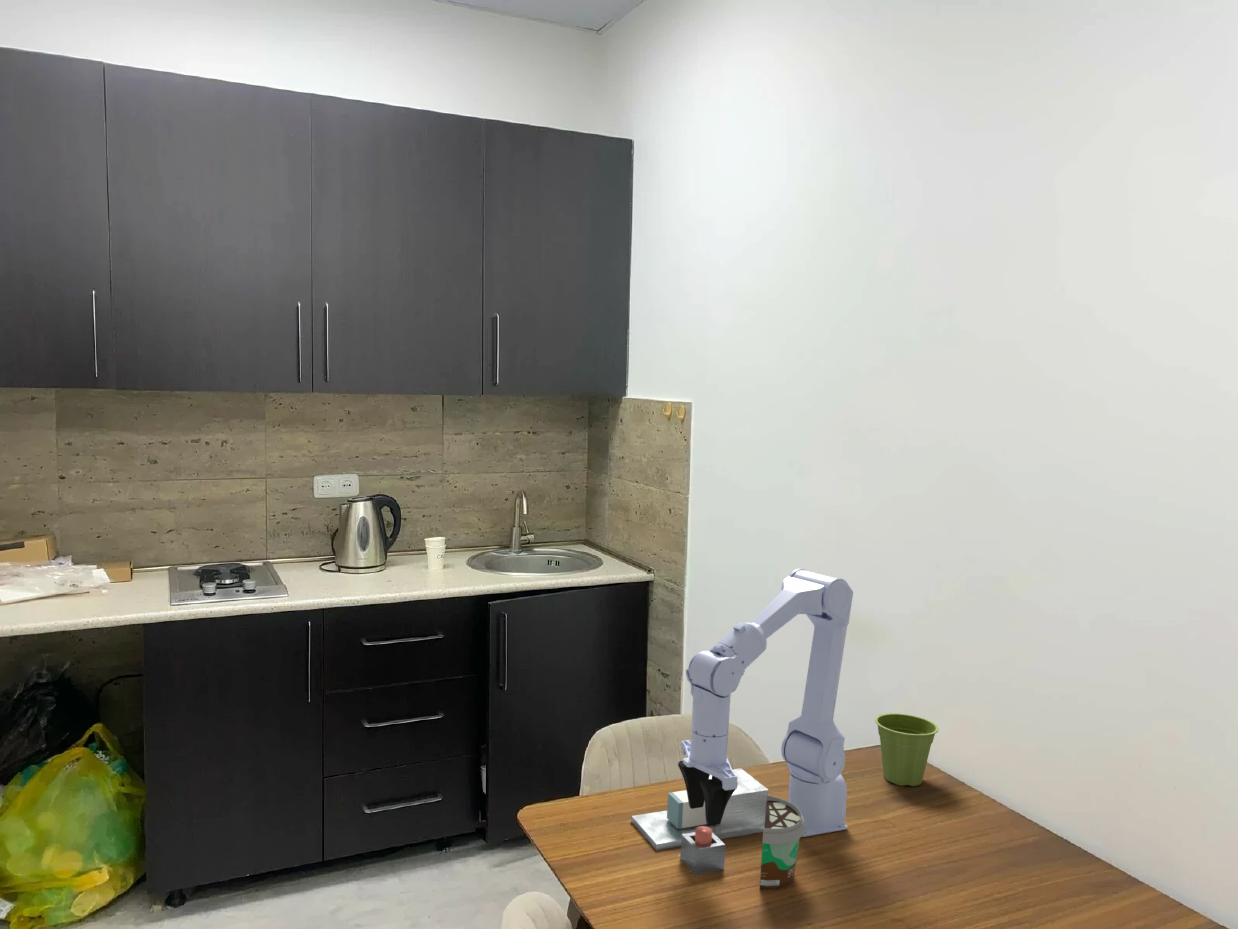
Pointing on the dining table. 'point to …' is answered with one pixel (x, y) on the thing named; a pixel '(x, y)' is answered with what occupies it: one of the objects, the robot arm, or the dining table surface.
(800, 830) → the food container
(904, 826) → the dining table surface
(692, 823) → the cartridge
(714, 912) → the dining table surface
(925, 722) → the plant pot
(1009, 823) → the dining table surface
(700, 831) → the plunger
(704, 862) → the plunger collar
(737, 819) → the housing
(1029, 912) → the dining table surface
